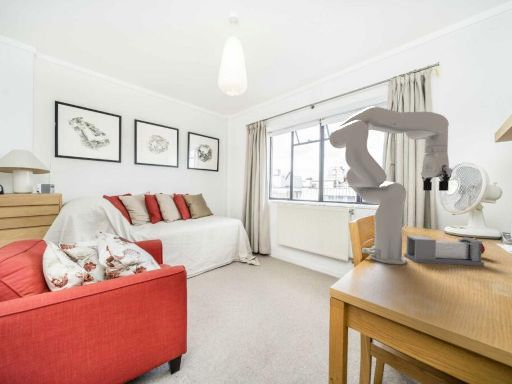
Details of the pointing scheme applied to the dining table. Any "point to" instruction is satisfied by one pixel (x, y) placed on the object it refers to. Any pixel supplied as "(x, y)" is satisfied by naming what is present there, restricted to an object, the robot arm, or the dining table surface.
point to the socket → (473, 248)
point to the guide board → (430, 252)
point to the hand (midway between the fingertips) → (435, 190)
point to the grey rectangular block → (452, 250)
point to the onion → (481, 247)
